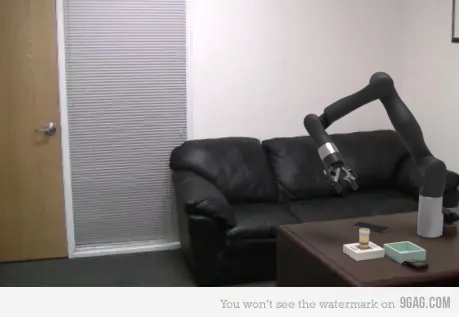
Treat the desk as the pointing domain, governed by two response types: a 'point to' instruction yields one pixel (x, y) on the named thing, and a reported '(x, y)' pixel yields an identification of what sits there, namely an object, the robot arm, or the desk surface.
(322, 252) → the desk surface
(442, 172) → the robot arm
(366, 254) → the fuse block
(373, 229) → the phone
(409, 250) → the parts tray
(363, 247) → the white and tan cylinder
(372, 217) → the desk surface
